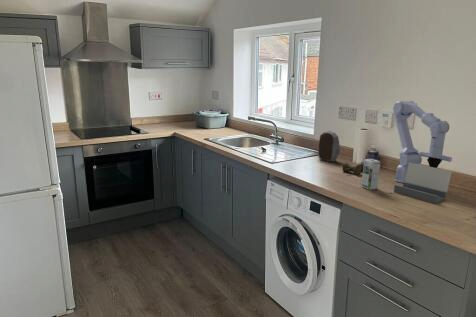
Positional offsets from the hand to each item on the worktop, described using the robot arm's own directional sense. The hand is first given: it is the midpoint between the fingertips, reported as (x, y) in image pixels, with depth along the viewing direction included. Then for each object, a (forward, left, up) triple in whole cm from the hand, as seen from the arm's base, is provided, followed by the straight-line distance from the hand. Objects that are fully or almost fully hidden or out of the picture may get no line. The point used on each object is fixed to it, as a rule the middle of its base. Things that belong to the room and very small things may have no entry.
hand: (432, 172), depth 179 cm
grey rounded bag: (-70, +10, -10) cm, 71 cm away
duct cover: (0, -6, -1) cm, 6 cm away
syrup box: (-21, -21, -10) cm, 31 cm away
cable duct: (0, -12, -9) cm, 15 cm away
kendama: (-43, 0, -10) cm, 44 cm away
